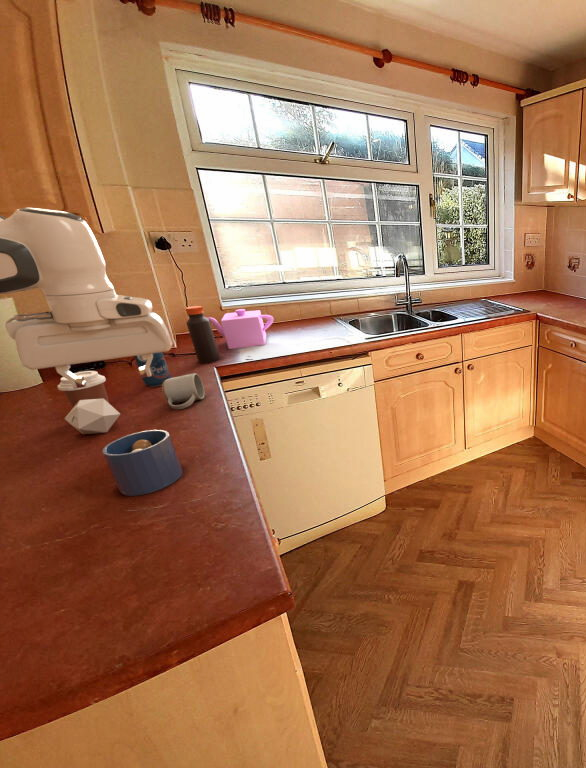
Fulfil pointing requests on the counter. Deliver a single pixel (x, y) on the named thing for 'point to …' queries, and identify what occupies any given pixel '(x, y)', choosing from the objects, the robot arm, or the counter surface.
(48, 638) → the counter surface
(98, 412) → the die
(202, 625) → the counter surface
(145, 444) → the maple pawn
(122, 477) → the cup
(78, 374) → the coffee cup
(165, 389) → the ceramic mug
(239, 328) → the teapot
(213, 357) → the bottle
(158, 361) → the soda can
